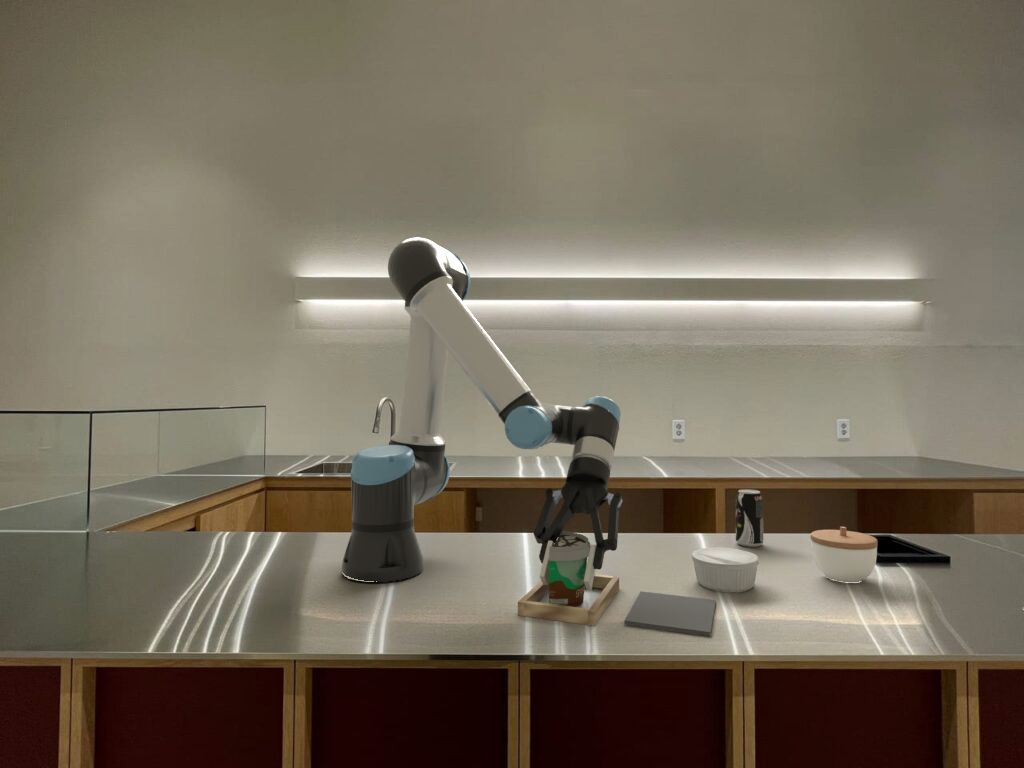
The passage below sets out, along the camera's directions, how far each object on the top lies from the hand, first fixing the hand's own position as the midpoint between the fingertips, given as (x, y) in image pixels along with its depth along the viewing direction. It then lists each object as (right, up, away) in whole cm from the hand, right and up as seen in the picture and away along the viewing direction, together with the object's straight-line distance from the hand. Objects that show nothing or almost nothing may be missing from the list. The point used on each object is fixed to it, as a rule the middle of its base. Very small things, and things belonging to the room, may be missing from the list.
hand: (565, 583), depth 97 cm
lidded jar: (+52, -4, +15) cm, 54 cm away
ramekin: (+29, -4, +12) cm, 32 cm away
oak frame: (+1, -4, +3) cm, 5 cm away
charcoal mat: (+16, -4, -3) cm, 17 cm away
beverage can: (+44, -4, +39) cm, 59 cm away
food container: (+1, -4, +3) cm, 5 cm away
